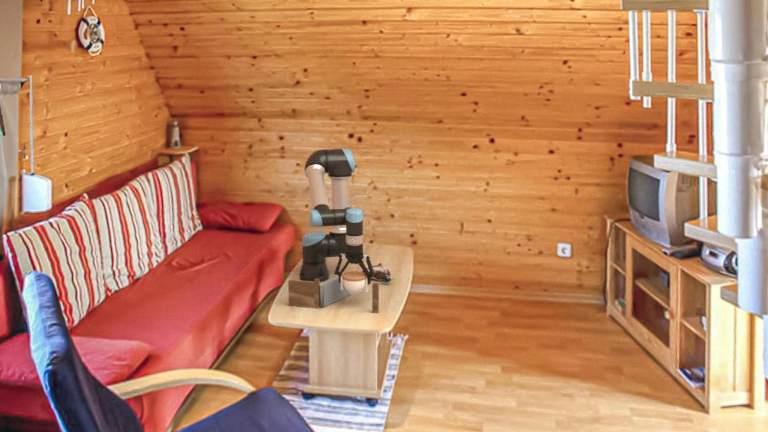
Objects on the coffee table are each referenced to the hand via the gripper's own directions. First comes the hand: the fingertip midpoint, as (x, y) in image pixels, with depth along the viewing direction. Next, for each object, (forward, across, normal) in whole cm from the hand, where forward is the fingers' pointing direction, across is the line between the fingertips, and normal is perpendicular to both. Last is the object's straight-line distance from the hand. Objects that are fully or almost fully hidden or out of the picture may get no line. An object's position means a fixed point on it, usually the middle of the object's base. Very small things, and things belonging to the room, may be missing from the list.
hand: (354, 290), depth 319 cm
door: (+7, -10, +4) cm, 13 cm away
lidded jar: (+1, 0, 0) cm, 1 cm away
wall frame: (+8, -9, -5) cm, 13 cm away
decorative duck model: (+8, +4, +34) cm, 35 cm away
